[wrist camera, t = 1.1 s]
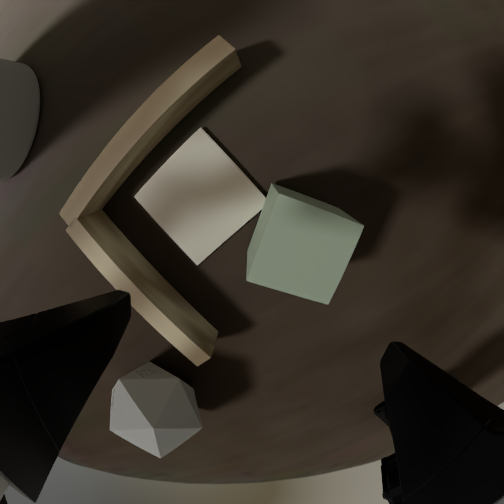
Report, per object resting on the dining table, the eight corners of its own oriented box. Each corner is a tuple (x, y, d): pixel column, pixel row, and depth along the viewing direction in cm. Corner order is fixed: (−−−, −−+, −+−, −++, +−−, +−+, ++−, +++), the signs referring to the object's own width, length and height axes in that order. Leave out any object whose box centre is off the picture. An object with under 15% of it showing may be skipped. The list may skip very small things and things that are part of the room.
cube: (338, 207, 19) (364, 226, 15) (312, 271, 21) (328, 304, 16) (271, 182, 19) (278, 193, 14) (247, 250, 20) (246, 280, 16)
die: (185, 337, 24) (87, 376, 17) (237, 418, 22) (147, 475, 15) (160, 363, 29) (85, 394, 22) (200, 427, 27) (129, 468, 20)
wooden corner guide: (369, 214, 19) (387, 225, 16) (206, 340, 24) (197, 366, 20) (227, 53, 16) (218, 34, 13) (82, 209, 21) (56, 218, 17)
